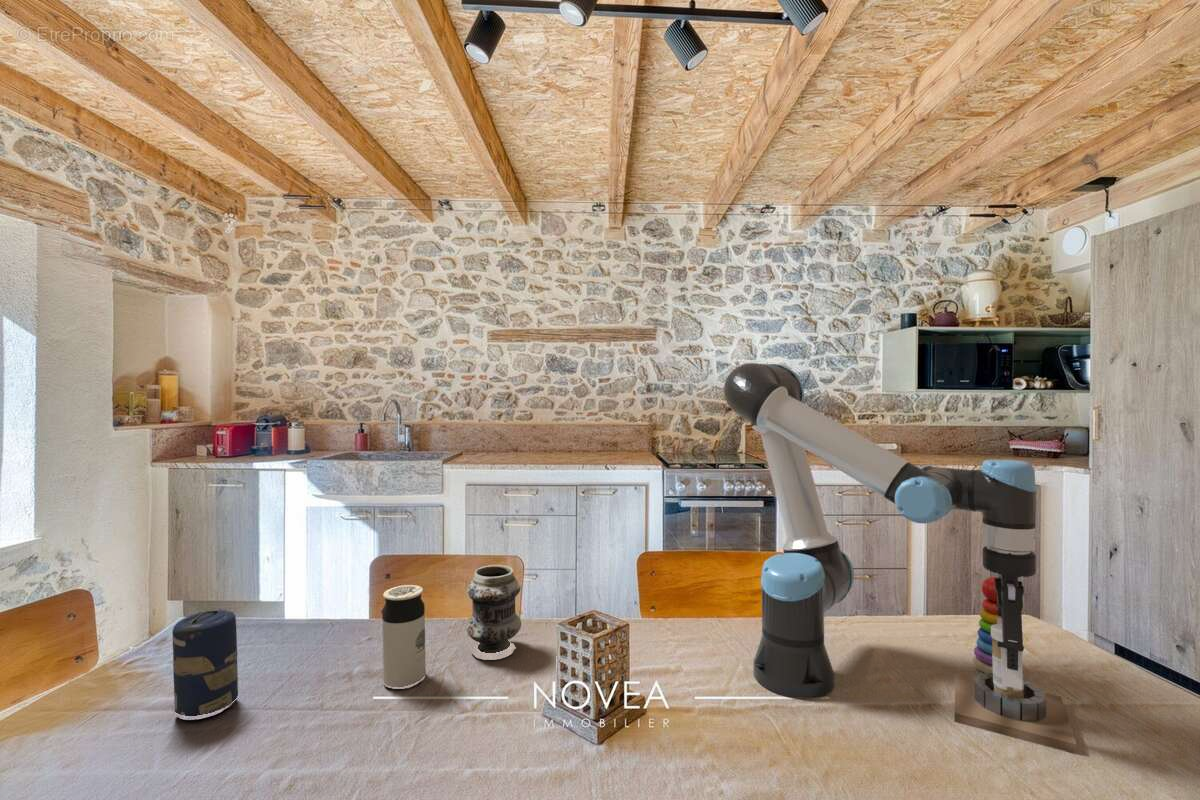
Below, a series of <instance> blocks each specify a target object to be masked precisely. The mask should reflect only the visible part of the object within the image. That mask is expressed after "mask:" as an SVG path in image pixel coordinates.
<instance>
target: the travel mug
mask: <svg viewBox="0 0 1200 800" xmlns="http://www.w3.org/2000/svg"><path fill="white" fill-rule="evenodd" d="M423 592H424V588H423V587H421V586H420V585H415V584H404V585H398V586H394V587H392V588H389V589H387V590H385V591H384V593H383V595H382V596H383V598H384V600H385V604H384V605H383V607H382V610H381V615H382V620H381V621H382V671H383V672H382V673H383V675H382V677H383V678H382V679H383V682H384V683H385V684H386V685H388V686H391V687H404V686H408V685H411V684H414V683H416V682H418V681H420V680H421V679H422V678H423V677H424V676H425V674H426V675H427V673H426V672H427V671H426V669H427V668H426V617H425V616H426V614H425V613H426V612H425V611H426V609H425V602H424V601H423V600H422V595H423Z"/></svg>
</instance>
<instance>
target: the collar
mask: <svg viewBox="0 0 1200 800" xmlns="http://www.w3.org/2000/svg"><path fill="white" fill-rule="evenodd" d="M973 677H974V679H975V700H976V701H977V702H978V703H979V704H980V705H981V706H982V707H984V708H985V709H987V710H989V711H991V712H993V713H996V714H998V715H1000V716H1001V715H1002V716H1003V717H1006V718H1010V719H1014V720H1018V721H1020V720H1021V721H1033V722H1037V721H1040V720H1042V719H1044V718H1046V696H1045V693H1046V692H1045V691H1043V690H1042V689H1041V688H1039V687H1038V686H1036V685H1035V684H1033V683H1032V682H1029V681H1026V680H1024V679H1023V681H1024V689H1023V691H1024V699H1020V698H1013V697H1009V696H1005V695H1002V694H1000V693H997V692H995V691H994V683H993V673H984V672H982V673H979V674H977V675H975V676H973Z"/></svg>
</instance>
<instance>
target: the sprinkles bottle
mask: <svg viewBox="0 0 1200 800" xmlns="http://www.w3.org/2000/svg"><path fill="white" fill-rule="evenodd" d="M1023 634H1024V632H1023V631H1022V638H1023V639H1024V635H1023ZM991 637H992V647H993V648H992V650H993V653H992V663H993V683H994V691H995V692H997V693H1000V694H1002V695H1005V696H1009V697H1013V698H1020V699H1024V691H1023V689H1024V681H1025V680H1024V664H1023V661H1022V690H1021V689H1016V688H1012V687H1007V686H1003V685H1002V647H998V645H997V644H998V642H1003V633H1002V624H994V625H992V626H991ZM1008 641H1011V642H1016V643H1017V641H1012V640H1008ZM1023 680H1024V681H1023Z"/></svg>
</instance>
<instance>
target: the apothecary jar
mask: <svg viewBox="0 0 1200 800" xmlns="http://www.w3.org/2000/svg"><path fill="white" fill-rule="evenodd" d="M473 574H474V576H473V579H472V580H471V581H470V582H469V583H468V584H467V587H466V594H467V596H468V598H470V599H471V600H472V605H471V606H472V610H471V617H470V618H468V620H467V622H466V625H465V626H466V627H465V629H466V633H467V635H468V636H469V637H470V638H471V640H474V641H475V642H477V643H480V644H479V645H478V649H479V650H480V651H481V652H485V653H496V652H500V651H503V650H505V649H507V648H508V647H509V646H510V642H509V641H510V640H511V639H513V638H514V637H515V636H516V635H517V634H518V633H519V631H520V630H521V628H522V627H521V626H522V621H521V618H520V616H519V615H518V614H517V613H516V597H517V596H518V595H519V594H520V591H521V588H522V587H521V582H520V581H519V580H518V578H517V577H516V576H515V573H514V569H513V568H512V567H511V566H508V565H505V564H504V565H502V564H492V565H490V564H489V565H484V566H482V567H479V568H477V569H475V571H474V573H473ZM508 640H509V641H508Z"/></svg>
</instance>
